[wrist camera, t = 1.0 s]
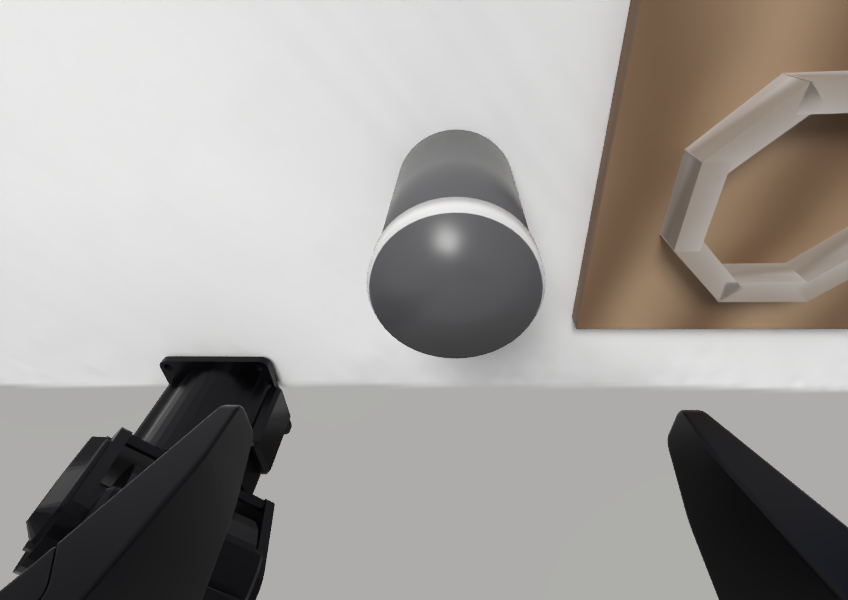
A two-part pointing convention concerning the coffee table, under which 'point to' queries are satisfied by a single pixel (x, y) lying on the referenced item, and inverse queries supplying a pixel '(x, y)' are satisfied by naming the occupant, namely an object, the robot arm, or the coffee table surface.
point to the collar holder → (723, 171)
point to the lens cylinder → (455, 251)
